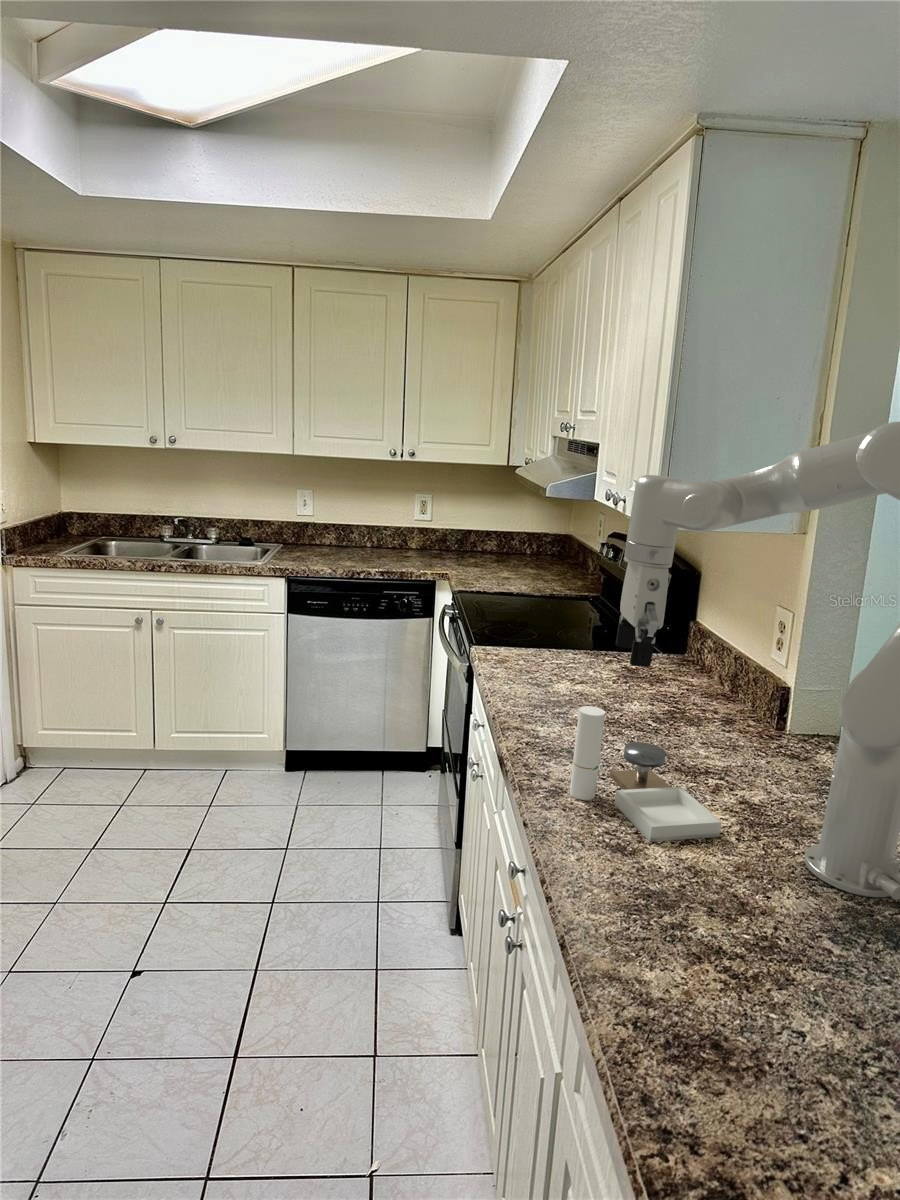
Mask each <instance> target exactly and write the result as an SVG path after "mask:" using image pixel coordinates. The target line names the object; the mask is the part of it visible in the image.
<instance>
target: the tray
mask: <svg viewBox="0 0 900 1200" xmlns="http://www.w3.org/2000/svg"><path fill="white" fill-rule="evenodd" d="M613 804H614V806H615V807H616V808H617V809H618V810H620V812H621V813H622V814H623V815H624V817H626V818H627V819H628V820H629V821H630V823H631V824H633V826H634V827H635V828H636V829H637V830H638V831H639V832H640V833H641V834H642V836H644V837H645V839H646V840H647V841H648V842H651V843H653V842H667V841H679V840H695V839H707V838H720V834H721V828H722V821H721V820H720V819H719V818H718V817H716V816H715V815H714V814H713V813H712V812H711V811H709V809H707V808H706V807H705V806H704V805H702V804H701V803H700V802H699V801H698V800H697V799H695V797H693V795H691V794H690V793H689V792H687V791H686V789H684V788H683V787H682V786H670V787H665V788H647V789H628V790H623V789H616V790H615V796H614V803H613Z"/></svg>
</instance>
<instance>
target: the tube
mask: <svg viewBox="0 0 900 1200" xmlns="http://www.w3.org/2000/svg"><path fill="white" fill-rule="evenodd" d="M577 716H578V717H577V723H576V724H577V726H576V733H575V740H574V741H575V743H574V752H573V759H572V770H571V779H570V785H569V786H570V787H569V795H570V796H572V797H573V798H575V799H577V800H582V801H591V800H593V799H595V798H596V791H597V783H598V775H599V764H600V757H601V750H602V743H603V742H602V741H603V733H604V726H605V719H606V717H605V716H606V711H605V710H604V709H603V708H601V707H597V706H591V705H586V706H585V705H584V706H581V707H579V708H578V715H577Z"/></svg>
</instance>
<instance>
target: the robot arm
mask: <svg viewBox="0 0 900 1200" xmlns="http://www.w3.org/2000/svg"><path fill="white" fill-rule="evenodd" d="M884 494H887V495H888V496H890V497H892V498H894V499H896V500H897V501H900V421H893V422H888V423H883V424H882V425H879V426H878V427H876V428H874V429H872V430H871V431H869V432H866V433H862V434H858V435H855V436H851V437H849V438H845V439H840V440H837V441H833V442H829V443H826V444H822V445H821V444H820V445H818V446H813V447H811V448H806V449H802V450H800V451H797V452H794V453H791V454H790V455H788V456H787V457H785V458H784V459H783V460H781V461H778V462H777V463H774V464H772V465H769V466H767V467H763V468H760V469H757V470H754V471H750V472H745V473H742V474H739V475H736V476H731V477H727V478H724V479H720V480H719V479H718V480H706V481H682V480H681V479H679V478H677V477H670V476H664V475H655V474H654V475H653V474H643V475H641V476H639V478H637V480H636V482H635V486H634V491H633V497H632V503H631V505H632V506H631V511H630V515H629V516H630V517H629V524H628V530H627V536H626V544H625V547H624V557H623V561H624V562H626V563H627V566H626V568H625V569H626V571H625V575H624V580H623V585H622V591H621V596H620V598H621V599H620V607H619V608H620V610H619V611H620V613H621V614H620V616H619V619H618V621H619V623H618V626H617V631H616V632H617V633H616V638H615V646H616V647H617V648H623V649H631V653H630V659H629V664H630V665H631V666H632V667H641V668H642V667H643V668H650V667H651V664H652V659H653V654H654V653H653V652H654V647H655V644H656V636H657V634H658V632H657V630H660V629H662V627H663V626H664V619H665V613H666V612H665V611H666V606H667V596H668V587H669V569H670V568H672V565H673V559H674V554H675V550H676V544H677V543H676V542H677V539H678V538H677V536H678V531H679V528H680V529H683V530H685V531H686V530H687V531H689V532H693V533H708V532H713V531H715V530H719V529H721V530H722V529H725V528H728V527H733V526H737V525H741V524H745V523H749V522H750V523H751V522H754V521H757V520H762V519H766V518H770V517H775V516H780V515H784V514H793V513H794V514H795V513H798V514H799V513H806V512H812V511H817V510H820V509H824V508H829V507H833V506H837V505H842V504H845V503H850V502H855V501H858V500H863V499H866V498H872V497H876V496H877V497H878V496H880V495H884ZM838 715H839V721H840V724H841V727H842V728H841V733H840V737H839V742H838V747H837V752H836V757H835V762H834V765H833V773H832V776H831V782H830V788H829V791H828V798H827V801H826V802H827V803H826V808H825V812H824V819H823V823H822V828H821V833H820V837H819V838H820V839H819V843H816V844H813V845H811V846H809V847H807V849H806V850H805V854H804V863H805V865H806V867H807V868H808V870H809V871H810V872H812V874H814V875H815V876H816V878H818V879H820V880H821V881H823V882H824V883H827V884H829V885H830V886H832V887H834V888H836V889H839V890H842V891H845V892H847V893H850V894H854V895H858V896H862V897H869V898H887V897H890V898H892V899H894V900H899V899H900V872H899V870H900V869H899V868H900V860H897V859H896V858H895V855H896V851H897V850H896V849H897V846H898V845H897V844H898V841H899V837H900V622H899V623H898V625H897V626H896V627H895V629H894V631H893V632H892V633H891V634H890V636H889V637H888V638H887V640H886V641H885V642H884V644H883V645H882V646H881V648H880V649H878V652H877V653H876V654H875V655H874V656H873V657H872V659H871V660H870V662H868V664H867V665H866V666H865V667H864V668H863V669H861V670H860V671H859V672H858V673H857V674H856V675H855V676H854V678H852V680H851V682H850V683H849V685H848V687H847V689H846V691H845V692H844V693H843V695H842V698H841V699H840V702H839V708H838Z"/></svg>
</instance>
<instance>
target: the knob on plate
mask: <svg viewBox="0 0 900 1200" xmlns="http://www.w3.org/2000/svg"><path fill="white" fill-rule="evenodd" d="M666 756H667V752H666V751H665V750H664V749H663V748H662V747H660V746H658V745H655V744H651V743H648V742H641V741H640V742H638V741H636V742H633V741H632V742H629V743H627V744H625V746H624V751H623V758H624V759H625V760H626V761H627V762H629V763H631V764H632V765H635V766H636V769H626V770H625V769H624V770H622V769H621V770H610V773H609V777H610V778H611V779H612V780H613V781H614V782H615V784H617V785H618V786H619V787H620V788H621V790H628V789H647V788H665V787H671V786H670V785H669V784H668V783H667V782H666V781H665V780H663V778H662V777H660V776H659V775H658V774H657V773H655V771H653V770H652V769H651V768H653V769H654V768H661V767H663V766H665V763H666V762H665V761H666V758H667V757H666Z"/></svg>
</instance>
